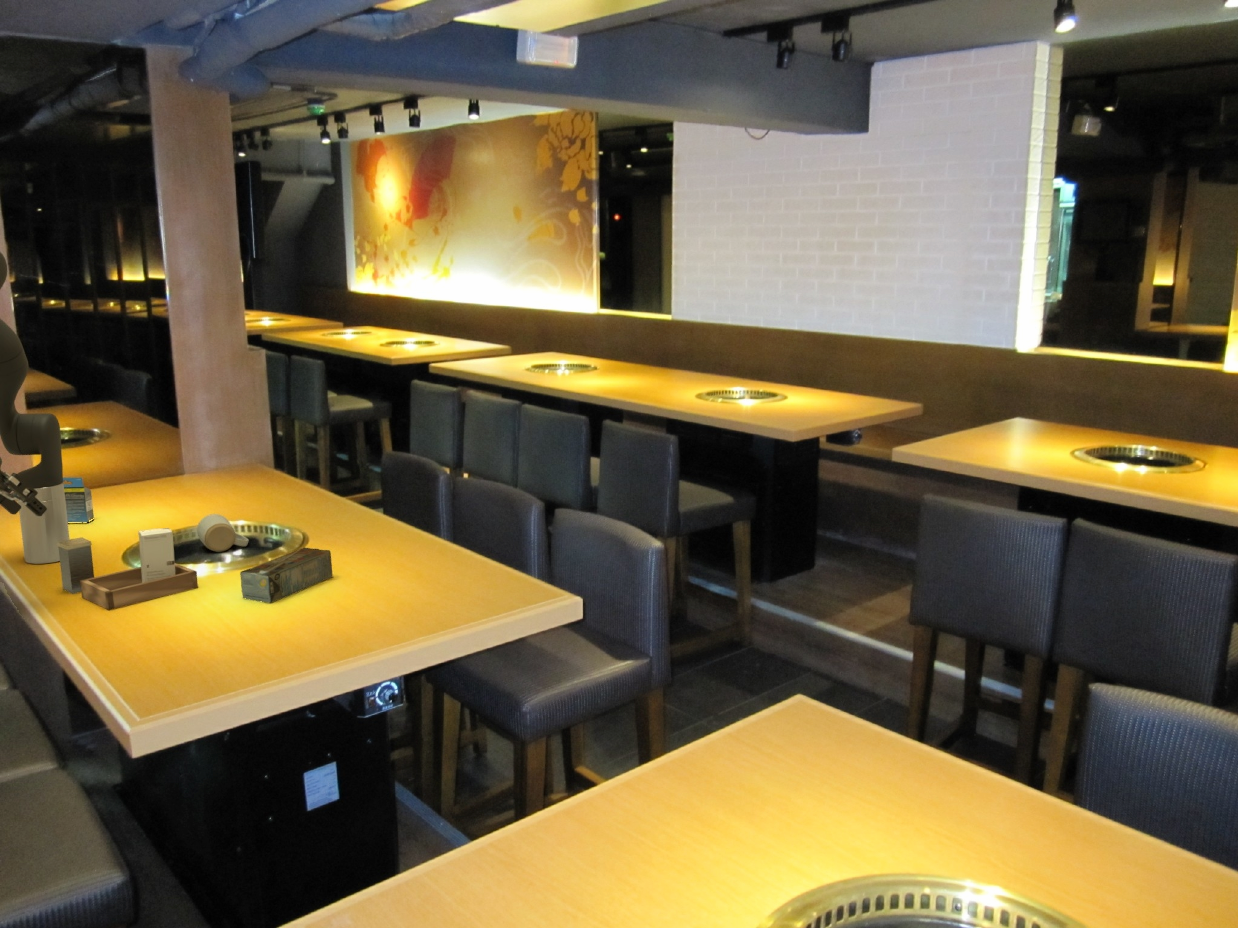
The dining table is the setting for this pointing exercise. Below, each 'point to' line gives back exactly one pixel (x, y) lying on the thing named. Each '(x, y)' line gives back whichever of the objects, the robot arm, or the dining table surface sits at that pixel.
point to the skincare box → (156, 554)
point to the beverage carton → (286, 575)
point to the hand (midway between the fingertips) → (30, 512)
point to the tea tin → (75, 563)
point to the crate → (135, 587)
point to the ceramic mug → (219, 533)
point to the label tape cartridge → (78, 500)
